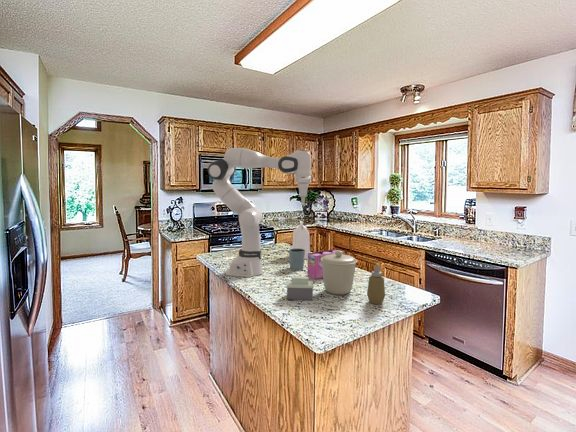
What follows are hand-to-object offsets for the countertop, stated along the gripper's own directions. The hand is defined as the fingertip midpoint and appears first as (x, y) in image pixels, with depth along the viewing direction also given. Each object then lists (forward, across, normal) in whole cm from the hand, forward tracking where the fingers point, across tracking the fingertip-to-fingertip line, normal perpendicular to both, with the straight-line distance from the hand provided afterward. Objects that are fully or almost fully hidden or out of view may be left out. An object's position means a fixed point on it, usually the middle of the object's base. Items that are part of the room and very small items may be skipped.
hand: (303, 204), depth 186 cm
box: (+42, +31, -1) cm, 52 cm away
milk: (+42, -51, -1) cm, 66 cm away
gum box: (+43, -9, +14) cm, 46 cm away
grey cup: (+42, -21, -4) cm, 48 cm away
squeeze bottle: (+43, +35, +34) cm, 65 cm away
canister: (+42, +21, +18) cm, 51 cm away
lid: (+36, +31, -1) cm, 48 cm away
